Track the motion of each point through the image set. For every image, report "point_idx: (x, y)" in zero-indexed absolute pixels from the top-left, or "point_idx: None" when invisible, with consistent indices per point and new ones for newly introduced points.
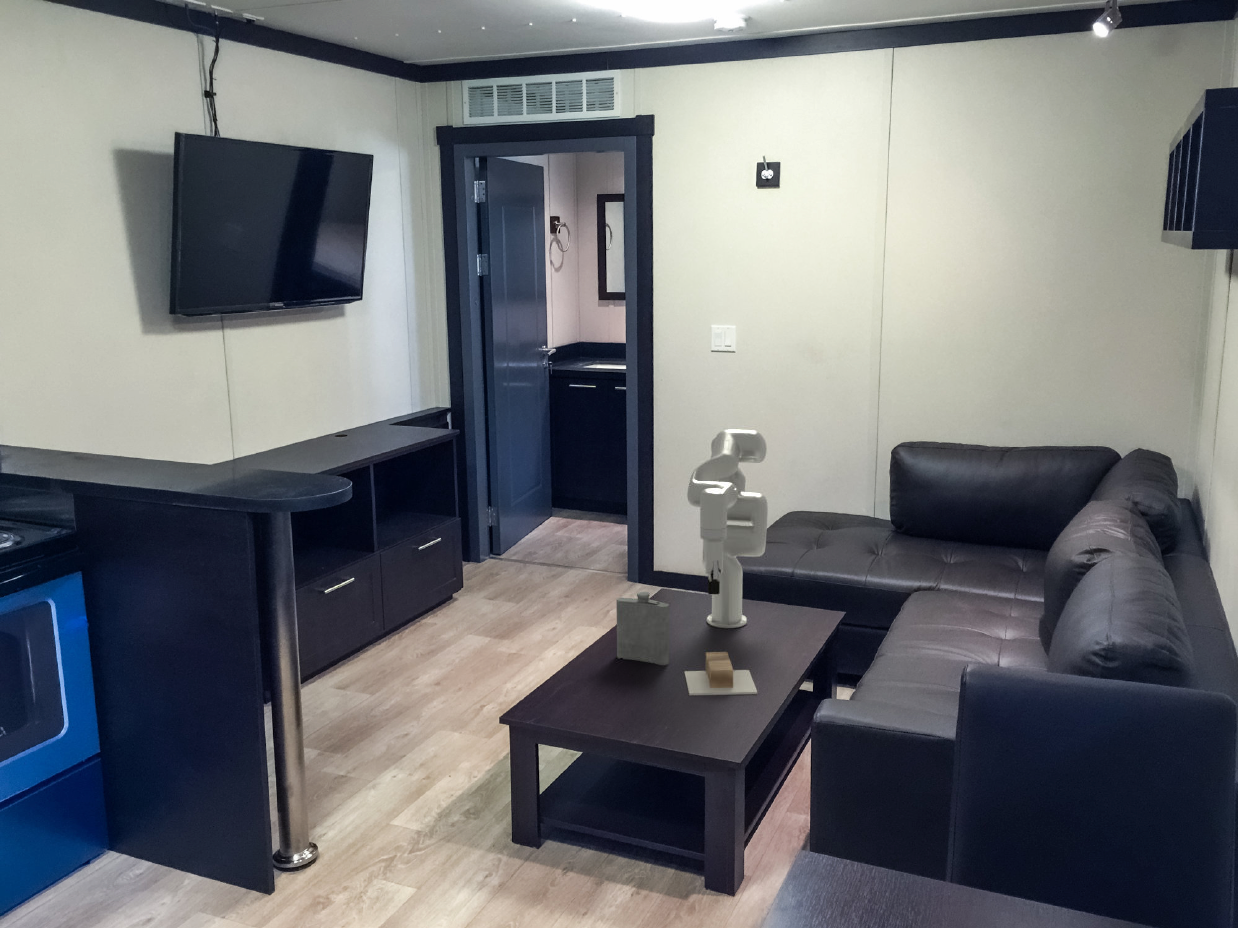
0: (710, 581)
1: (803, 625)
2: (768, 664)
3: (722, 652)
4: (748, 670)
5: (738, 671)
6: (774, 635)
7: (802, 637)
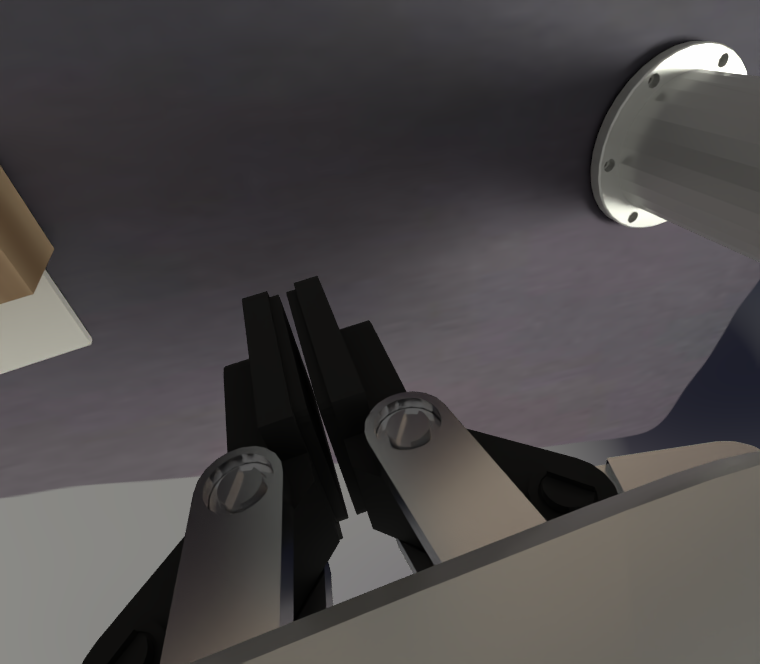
0: (209, 485)
1: (582, 390)
2: (216, 383)
3: (4, 270)
4: (82, 344)
5: (44, 307)
6: (508, 336)
7: (489, 411)
